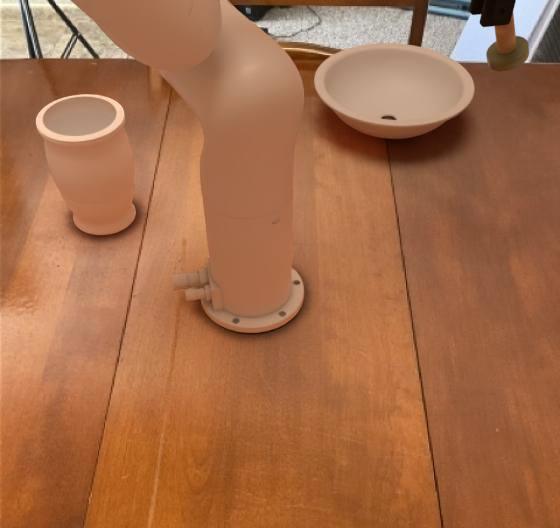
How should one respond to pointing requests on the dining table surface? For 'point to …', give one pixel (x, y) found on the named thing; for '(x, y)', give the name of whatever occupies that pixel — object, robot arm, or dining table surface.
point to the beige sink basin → (393, 88)
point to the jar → (90, 160)
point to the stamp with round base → (507, 49)
